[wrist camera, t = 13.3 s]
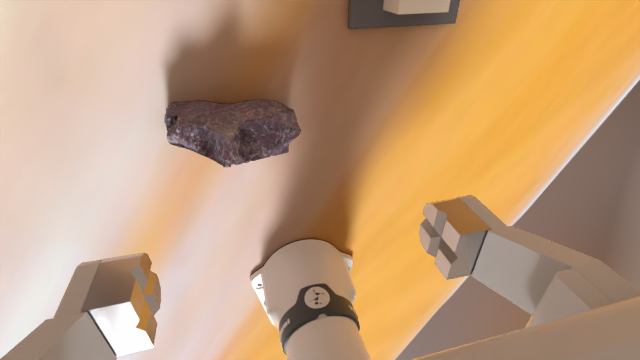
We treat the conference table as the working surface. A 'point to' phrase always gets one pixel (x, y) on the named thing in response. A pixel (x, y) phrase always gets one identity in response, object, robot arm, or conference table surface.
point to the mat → (394, 15)
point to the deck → (416, 6)
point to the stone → (232, 129)
